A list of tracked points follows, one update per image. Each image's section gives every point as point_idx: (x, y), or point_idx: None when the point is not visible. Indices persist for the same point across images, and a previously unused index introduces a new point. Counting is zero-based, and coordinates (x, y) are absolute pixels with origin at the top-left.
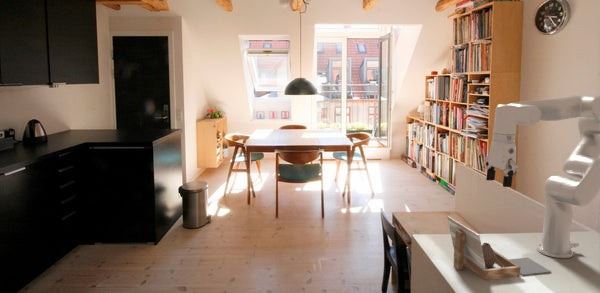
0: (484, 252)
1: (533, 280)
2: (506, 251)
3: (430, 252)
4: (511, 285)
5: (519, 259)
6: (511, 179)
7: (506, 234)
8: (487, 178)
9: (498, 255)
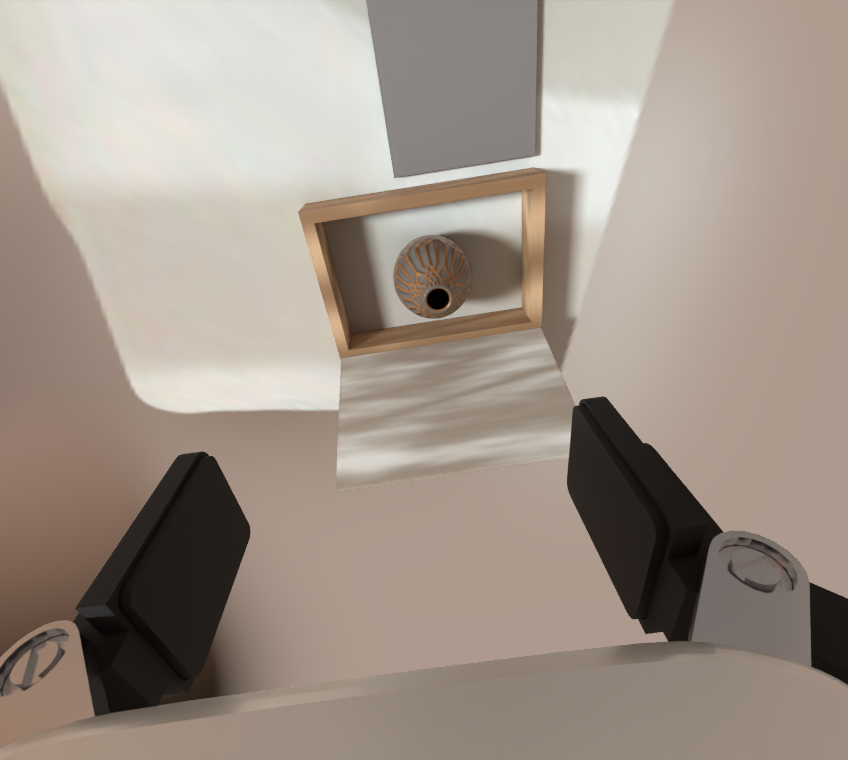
0: (458, 306)
1: (578, 126)
2: (271, 66)
3: (313, 404)
4: (585, 243)
5: (389, 62)
6: (697, 504)
7: None
8: (237, 551)
9: (413, 206)
